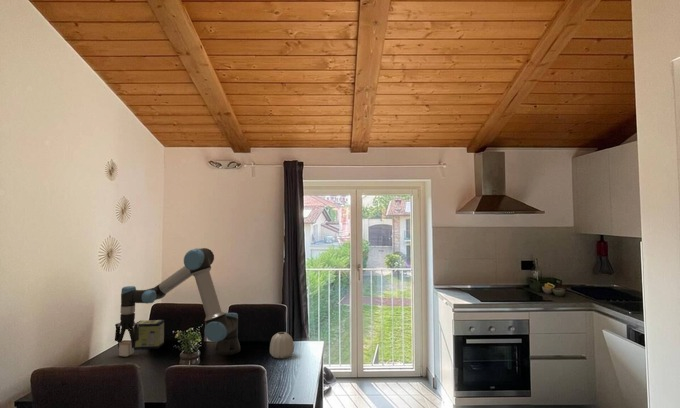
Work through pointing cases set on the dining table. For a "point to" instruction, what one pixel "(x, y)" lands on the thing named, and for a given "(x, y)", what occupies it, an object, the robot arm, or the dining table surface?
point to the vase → (281, 345)
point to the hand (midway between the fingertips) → (126, 353)
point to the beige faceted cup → (124, 349)
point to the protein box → (150, 334)
